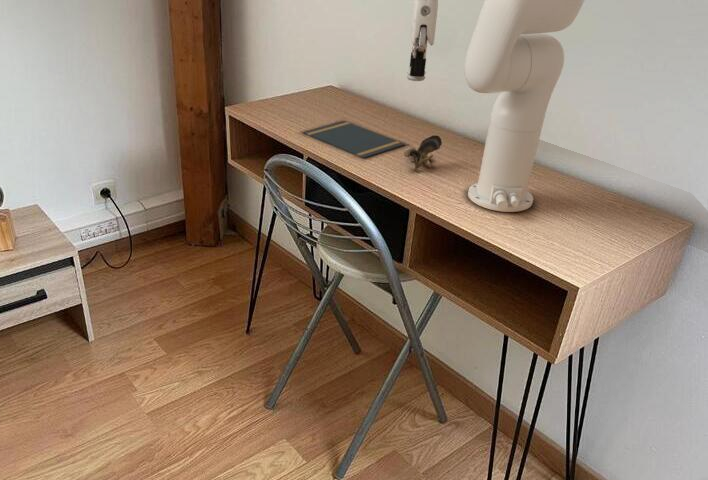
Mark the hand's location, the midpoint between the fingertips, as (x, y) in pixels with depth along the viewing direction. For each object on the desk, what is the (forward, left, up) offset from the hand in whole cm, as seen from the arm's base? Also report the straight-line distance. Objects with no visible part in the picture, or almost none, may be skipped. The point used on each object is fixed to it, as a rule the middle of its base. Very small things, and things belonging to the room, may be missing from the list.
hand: (416, 72), depth 149 cm
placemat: (-4, +14, -16) cm, 21 cm away
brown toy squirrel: (-18, -2, -16) cm, 24 cm away
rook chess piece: (0, 0, -2) cm, 2 cm away
